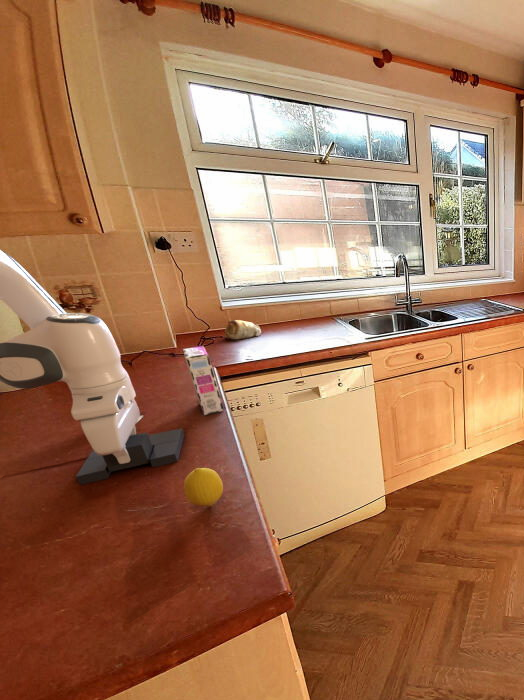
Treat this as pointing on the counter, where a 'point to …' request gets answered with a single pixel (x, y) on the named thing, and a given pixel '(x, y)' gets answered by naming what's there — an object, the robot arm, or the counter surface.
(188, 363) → the candy bar box
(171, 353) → the counter surface
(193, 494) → the lemon
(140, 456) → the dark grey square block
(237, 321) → the pastry
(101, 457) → the base pad
